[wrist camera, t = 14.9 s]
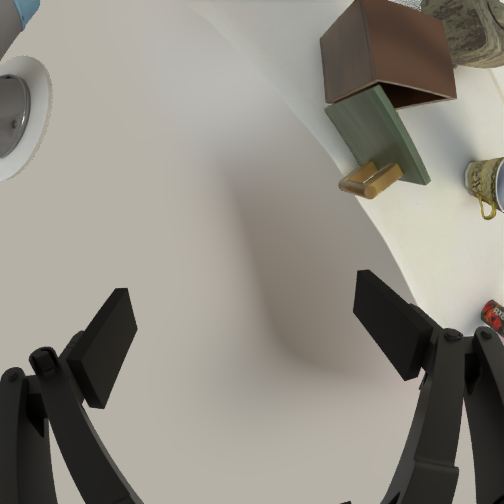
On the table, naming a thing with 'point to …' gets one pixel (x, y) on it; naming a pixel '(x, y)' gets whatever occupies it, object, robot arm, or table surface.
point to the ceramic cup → (487, 183)
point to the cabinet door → (376, 143)
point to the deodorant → (494, 316)
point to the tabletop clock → (471, 30)
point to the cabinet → (387, 55)
